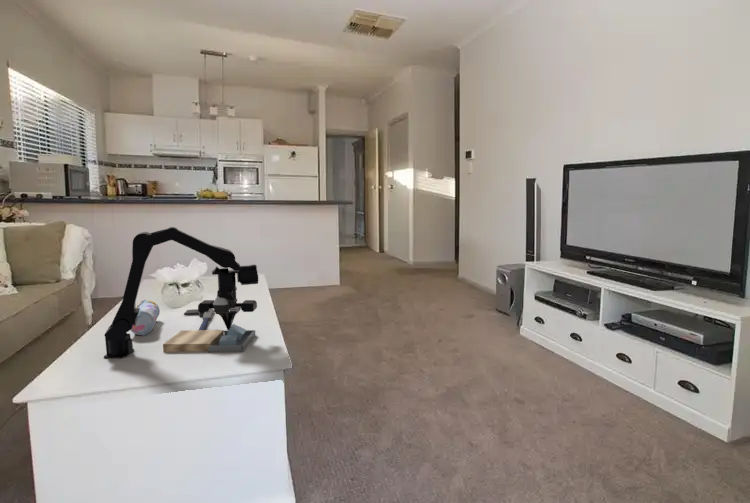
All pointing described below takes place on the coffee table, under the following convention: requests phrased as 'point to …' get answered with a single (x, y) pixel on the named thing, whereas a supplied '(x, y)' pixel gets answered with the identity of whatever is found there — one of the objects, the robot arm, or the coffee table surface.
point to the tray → (234, 348)
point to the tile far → (236, 331)
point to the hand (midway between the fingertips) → (228, 329)
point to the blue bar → (205, 315)
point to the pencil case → (146, 317)
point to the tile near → (228, 340)
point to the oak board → (193, 340)
